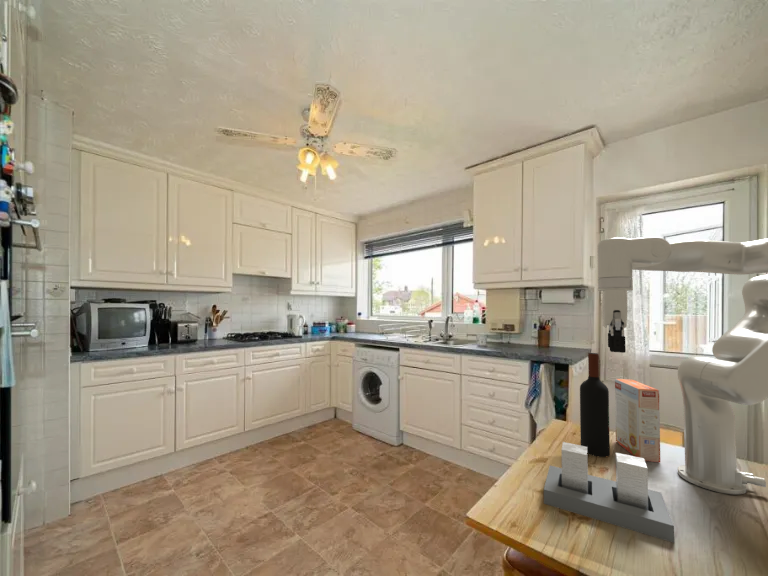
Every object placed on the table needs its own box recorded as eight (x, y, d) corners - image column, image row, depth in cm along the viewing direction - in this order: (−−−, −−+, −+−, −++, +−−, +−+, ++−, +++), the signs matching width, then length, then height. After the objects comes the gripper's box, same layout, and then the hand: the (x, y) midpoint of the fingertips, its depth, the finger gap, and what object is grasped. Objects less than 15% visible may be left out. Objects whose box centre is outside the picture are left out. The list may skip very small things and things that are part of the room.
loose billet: (645, 510, 71) (643, 458, 71) (648, 523, 67) (647, 467, 67) (616, 502, 73) (615, 452, 74) (618, 514, 69) (617, 461, 70)
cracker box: (662, 463, 94) (660, 389, 95) (638, 461, 95) (636, 388, 96) (635, 443, 108) (634, 378, 109) (615, 441, 109) (613, 377, 110)
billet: (588, 495, 76) (587, 446, 77) (588, 506, 72) (587, 455, 72) (563, 488, 79) (562, 441, 79) (562, 499, 75) (561, 449, 75)
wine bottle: (575, 446, 105) (573, 351, 106) (597, 445, 106) (595, 351, 107) (592, 457, 97) (591, 355, 99) (616, 456, 98) (614, 355, 100)
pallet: (661, 511, 72) (661, 492, 73) (674, 548, 61) (673, 525, 62) (549, 481, 84) (549, 465, 84) (543, 507, 73) (543, 489, 73)
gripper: (597, 286, 97) (598, 345, 96) (599, 283, 82) (600, 352, 82) (629, 286, 93) (630, 347, 92) (636, 282, 78) (638, 355, 78)
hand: (616, 349), depth 87 cm, fingers open, 9 cm apart
